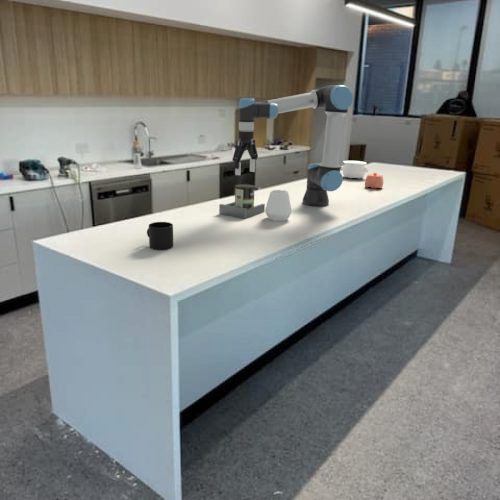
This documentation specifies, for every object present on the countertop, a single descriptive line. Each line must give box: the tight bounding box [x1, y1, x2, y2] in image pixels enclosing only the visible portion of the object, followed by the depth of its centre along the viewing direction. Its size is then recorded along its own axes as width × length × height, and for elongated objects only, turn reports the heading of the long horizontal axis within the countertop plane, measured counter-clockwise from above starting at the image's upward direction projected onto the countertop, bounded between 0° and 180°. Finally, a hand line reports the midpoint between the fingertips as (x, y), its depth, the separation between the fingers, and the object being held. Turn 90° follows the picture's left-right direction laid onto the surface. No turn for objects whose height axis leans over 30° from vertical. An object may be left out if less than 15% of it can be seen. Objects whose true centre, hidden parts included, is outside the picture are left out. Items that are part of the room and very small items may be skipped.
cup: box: [264, 189, 293, 222], centre depth 229 cm, size 13×13×14 cm
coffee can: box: [234, 183, 256, 209], centre depth 240 cm, size 10×10×14 cm
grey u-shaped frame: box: [218, 201, 266, 219], centre depth 240 cm, size 16×20×5 cm
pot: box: [340, 160, 369, 179], centre depth 356 cm, size 22×17×12 cm
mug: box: [146, 221, 174, 251], centre depth 183 cm, size 9×12×9 cm
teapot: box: [364, 172, 384, 189], centre depth 318 cm, size 12×18×10 cm, turn 151°
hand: (245, 173), depth 236 cm, fingers open, 13 cm apart
